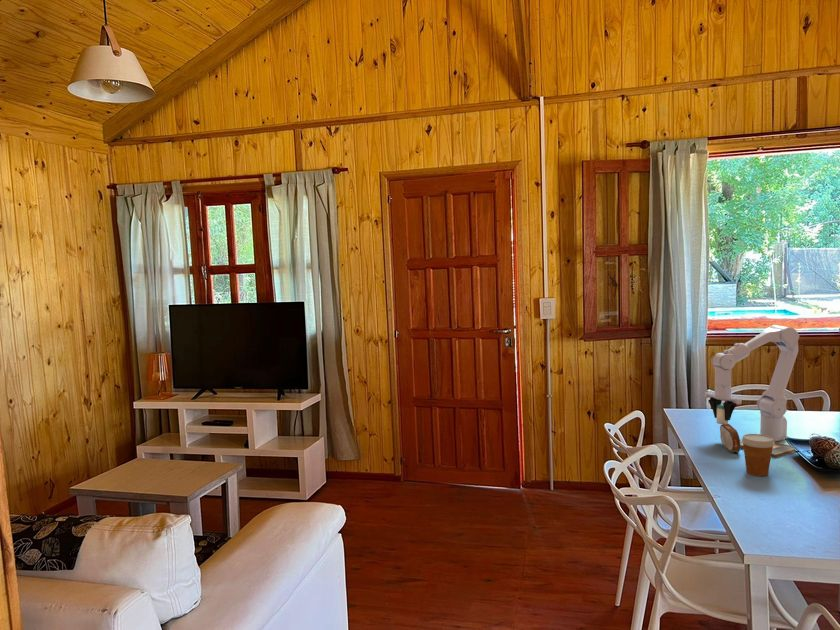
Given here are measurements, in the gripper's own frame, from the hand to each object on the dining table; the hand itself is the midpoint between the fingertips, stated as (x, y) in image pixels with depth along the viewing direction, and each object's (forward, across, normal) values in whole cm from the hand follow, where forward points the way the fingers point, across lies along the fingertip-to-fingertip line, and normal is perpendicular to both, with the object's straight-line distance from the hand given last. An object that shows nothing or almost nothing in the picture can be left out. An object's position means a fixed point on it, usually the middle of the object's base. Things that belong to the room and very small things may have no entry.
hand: (722, 418), depth 235 cm
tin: (+9, +8, -7) cm, 14 cm away
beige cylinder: (+2, 0, 0) cm, 2 cm away
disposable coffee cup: (+9, +29, -22) cm, 37 cm away
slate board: (+8, +15, +4) cm, 18 cm away
